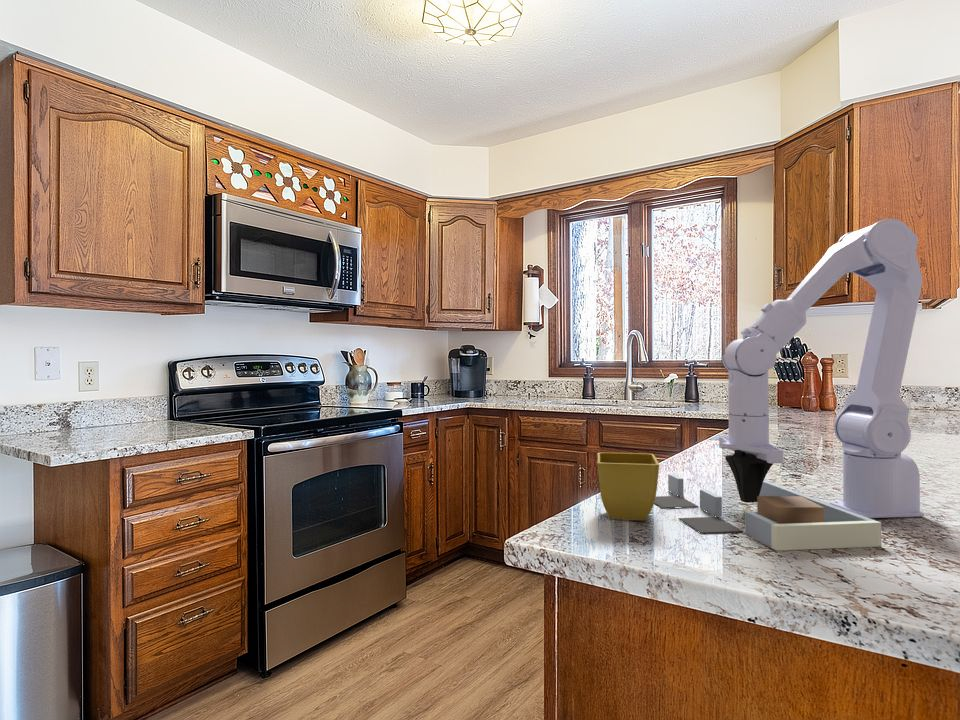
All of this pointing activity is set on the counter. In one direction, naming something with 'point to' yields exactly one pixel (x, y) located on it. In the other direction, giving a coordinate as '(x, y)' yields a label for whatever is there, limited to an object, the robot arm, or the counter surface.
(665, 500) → the mat
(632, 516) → the flower pot
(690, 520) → the mat
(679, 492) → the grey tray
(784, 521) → the walnut block
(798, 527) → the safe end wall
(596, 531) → the counter surface
